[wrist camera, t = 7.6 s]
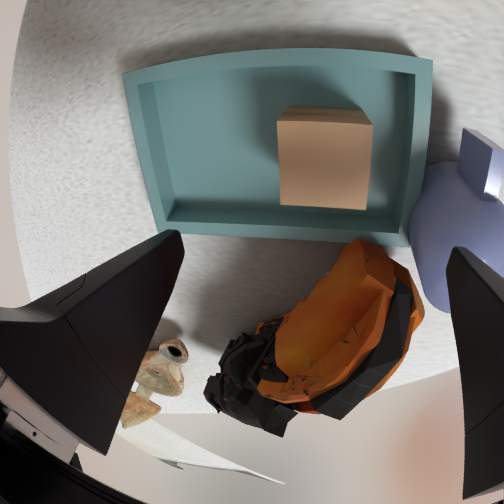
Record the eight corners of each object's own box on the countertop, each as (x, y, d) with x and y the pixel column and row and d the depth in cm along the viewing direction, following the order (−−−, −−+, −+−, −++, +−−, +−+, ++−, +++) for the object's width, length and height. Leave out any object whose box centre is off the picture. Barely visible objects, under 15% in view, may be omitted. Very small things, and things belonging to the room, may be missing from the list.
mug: (499, 131, 14) (557, 172, 8) (470, 250, 20) (500, 314, 14) (410, 113, 16) (450, 146, 10) (393, 243, 21) (408, 312, 16)
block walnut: (359, 177, 19) (365, 210, 15) (290, 173, 20) (280, 204, 16) (362, 109, 16) (372, 125, 12) (287, 106, 17) (276, 121, 13)
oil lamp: (125, 367, 46) (99, 414, 38) (156, 307, 33) (115, 379, 25) (169, 392, 47) (148, 441, 39) (222, 345, 34) (194, 421, 26)
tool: (242, 282, 37) (181, 394, 30) (378, 189, 17) (288, 449, 10) (294, 316, 38) (244, 424, 31) (450, 260, 19) (401, 477, 11)
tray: (419, 58, 13) (432, 59, 11) (403, 227, 20) (409, 247, 18) (142, 69, 17) (122, 73, 15) (171, 215, 24) (157, 232, 22)
